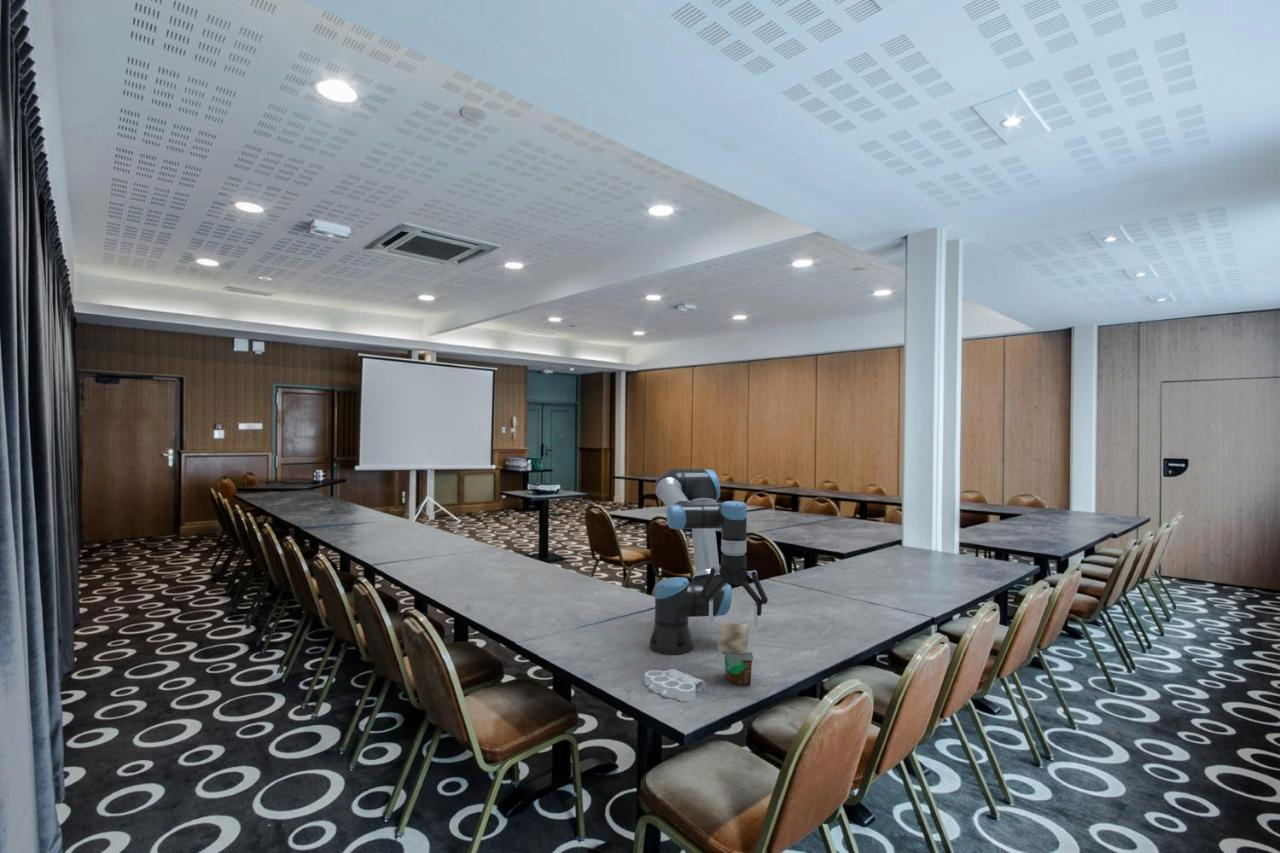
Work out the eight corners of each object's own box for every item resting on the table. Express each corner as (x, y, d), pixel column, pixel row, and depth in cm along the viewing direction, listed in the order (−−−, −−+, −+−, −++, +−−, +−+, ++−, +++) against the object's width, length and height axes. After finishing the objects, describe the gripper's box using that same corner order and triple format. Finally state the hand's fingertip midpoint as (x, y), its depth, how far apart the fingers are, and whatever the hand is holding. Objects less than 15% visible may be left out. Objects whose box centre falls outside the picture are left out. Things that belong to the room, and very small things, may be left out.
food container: (714, 674, 187) (714, 641, 187) (732, 671, 189) (732, 639, 190) (734, 690, 176) (734, 655, 176) (753, 687, 178) (753, 652, 178)
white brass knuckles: (713, 693, 175) (677, 707, 165) (669, 674, 188) (633, 687, 178) (713, 681, 175) (678, 695, 165) (669, 663, 188) (633, 675, 178)
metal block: (718, 650, 179) (718, 630, 180) (722, 642, 187) (722, 622, 187) (745, 653, 177) (745, 632, 177) (748, 644, 185) (748, 624, 185)
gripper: (690, 552, 183) (689, 623, 183) (774, 558, 176) (774, 632, 176) (695, 548, 191) (695, 615, 190) (777, 553, 183) (776, 624, 183)
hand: (733, 623), depth 183 cm, fingers open, 13 cm apart
